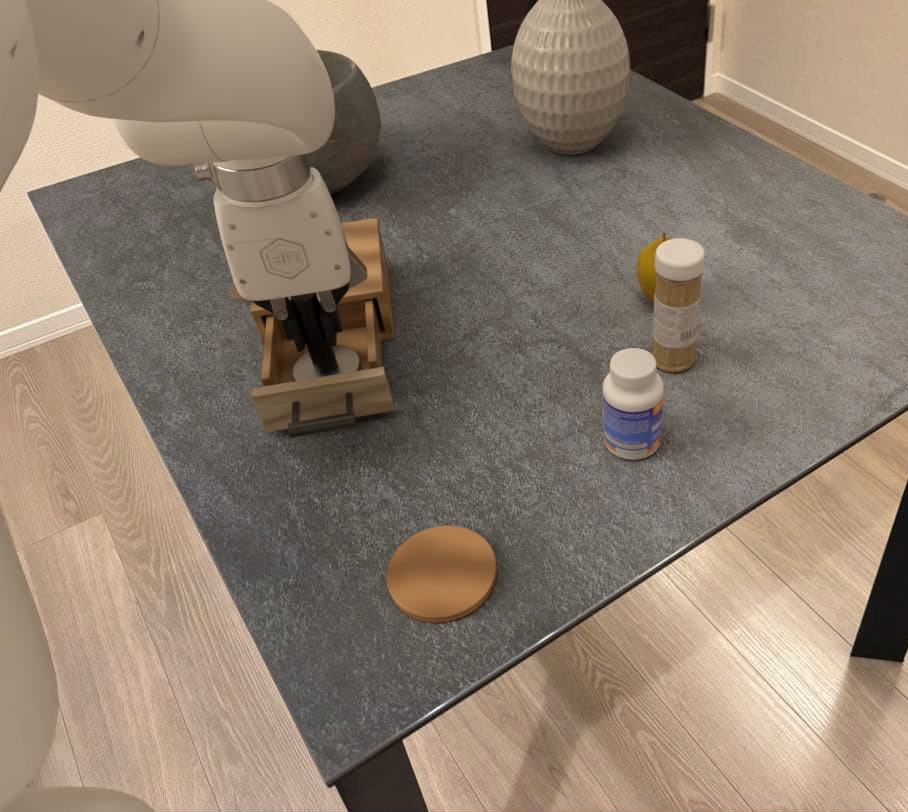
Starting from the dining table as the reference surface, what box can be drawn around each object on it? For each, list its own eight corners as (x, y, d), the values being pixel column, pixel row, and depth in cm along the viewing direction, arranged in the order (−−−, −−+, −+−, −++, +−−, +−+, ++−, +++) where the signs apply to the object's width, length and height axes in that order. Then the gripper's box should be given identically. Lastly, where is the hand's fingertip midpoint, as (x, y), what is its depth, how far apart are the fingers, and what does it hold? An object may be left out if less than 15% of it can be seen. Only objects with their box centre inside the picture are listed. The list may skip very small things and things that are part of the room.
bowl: (227, 169, 121) (191, 67, 110) (364, 132, 127) (341, 31, 116) (261, 237, 107) (223, 128, 96) (412, 192, 113) (392, 84, 102)
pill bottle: (663, 461, 76) (668, 383, 69) (604, 462, 76) (603, 385, 69) (658, 418, 79) (662, 341, 73) (601, 420, 80) (601, 343, 73)
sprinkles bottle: (681, 340, 87) (690, 231, 78) (703, 367, 84) (715, 256, 75) (642, 352, 86) (647, 243, 77) (662, 379, 83) (669, 269, 74)
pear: (659, 276, 96) (662, 215, 90) (704, 298, 92) (710, 236, 87) (622, 301, 93) (623, 240, 87) (667, 325, 89) (671, 263, 84)
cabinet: (394, 339, 90) (383, 290, 86) (269, 359, 89) (250, 311, 85) (387, 264, 101) (377, 217, 96) (275, 282, 100) (258, 235, 95)
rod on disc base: (361, 386, 82) (339, 309, 75) (292, 398, 82) (264, 321, 75) (359, 344, 87) (339, 268, 80) (294, 354, 86) (268, 279, 80)
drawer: (396, 441, 78) (386, 405, 75) (263, 464, 77) (247, 428, 74) (386, 326, 91) (378, 291, 87) (272, 344, 90) (259, 309, 86)
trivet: (504, 610, 65) (504, 605, 65) (391, 633, 65) (389, 627, 64) (489, 522, 72) (488, 516, 71) (385, 541, 71) (384, 535, 70)
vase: (502, 165, 117) (485, -1, 101) (536, 114, 128) (526, -43, 112) (614, 176, 113) (615, 5, 97) (639, 123, 124) (643, -40, 108)
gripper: (157, 206, 65) (231, 378, 78) (361, 177, 67) (401, 350, 80) (170, 161, 71) (238, 329, 83) (359, 135, 72) (397, 304, 85)
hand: (317, 338), depth 81 cm, fingers closed on rod on disc base, 2 cm apart
